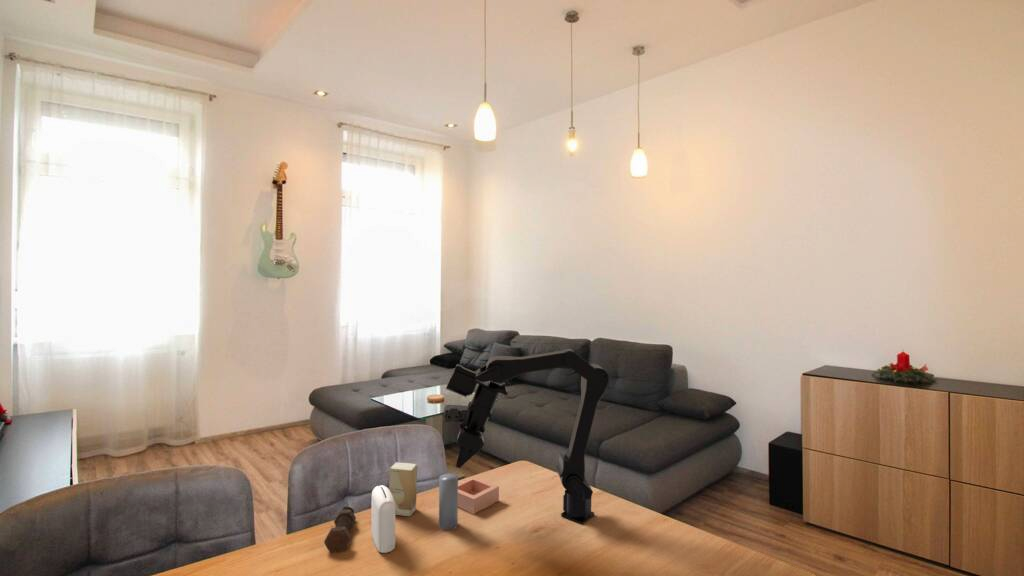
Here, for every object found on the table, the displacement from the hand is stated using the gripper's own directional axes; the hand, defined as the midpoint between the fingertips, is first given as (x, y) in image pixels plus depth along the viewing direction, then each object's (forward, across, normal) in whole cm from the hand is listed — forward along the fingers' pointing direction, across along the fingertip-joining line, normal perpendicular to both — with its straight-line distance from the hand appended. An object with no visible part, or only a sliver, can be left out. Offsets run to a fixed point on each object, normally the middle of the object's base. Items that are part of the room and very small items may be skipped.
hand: (458, 460), depth 124 cm
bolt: (+25, +7, -19) cm, 32 cm away
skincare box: (+20, -4, -8) cm, 21 cm away
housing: (+12, -9, +9) cm, 18 cm away
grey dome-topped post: (+15, +3, +4) cm, 16 cm away
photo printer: (+20, +10, -10) cm, 25 cm away
